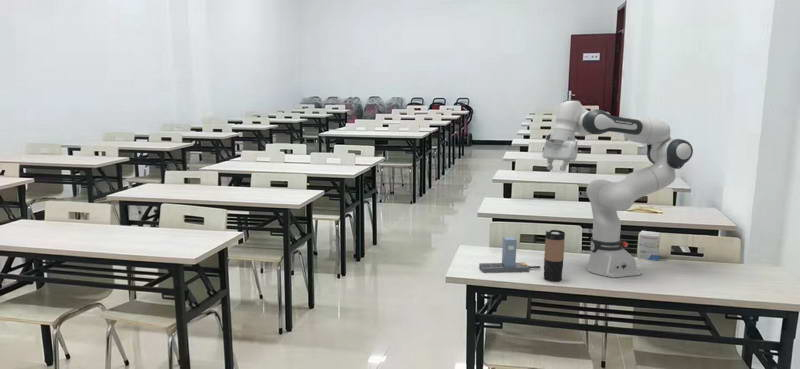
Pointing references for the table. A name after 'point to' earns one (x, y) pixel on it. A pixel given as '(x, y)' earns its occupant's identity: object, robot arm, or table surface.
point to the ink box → (649, 245)
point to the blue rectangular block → (509, 252)
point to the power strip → (499, 268)
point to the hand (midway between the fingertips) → (555, 170)
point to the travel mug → (554, 255)
